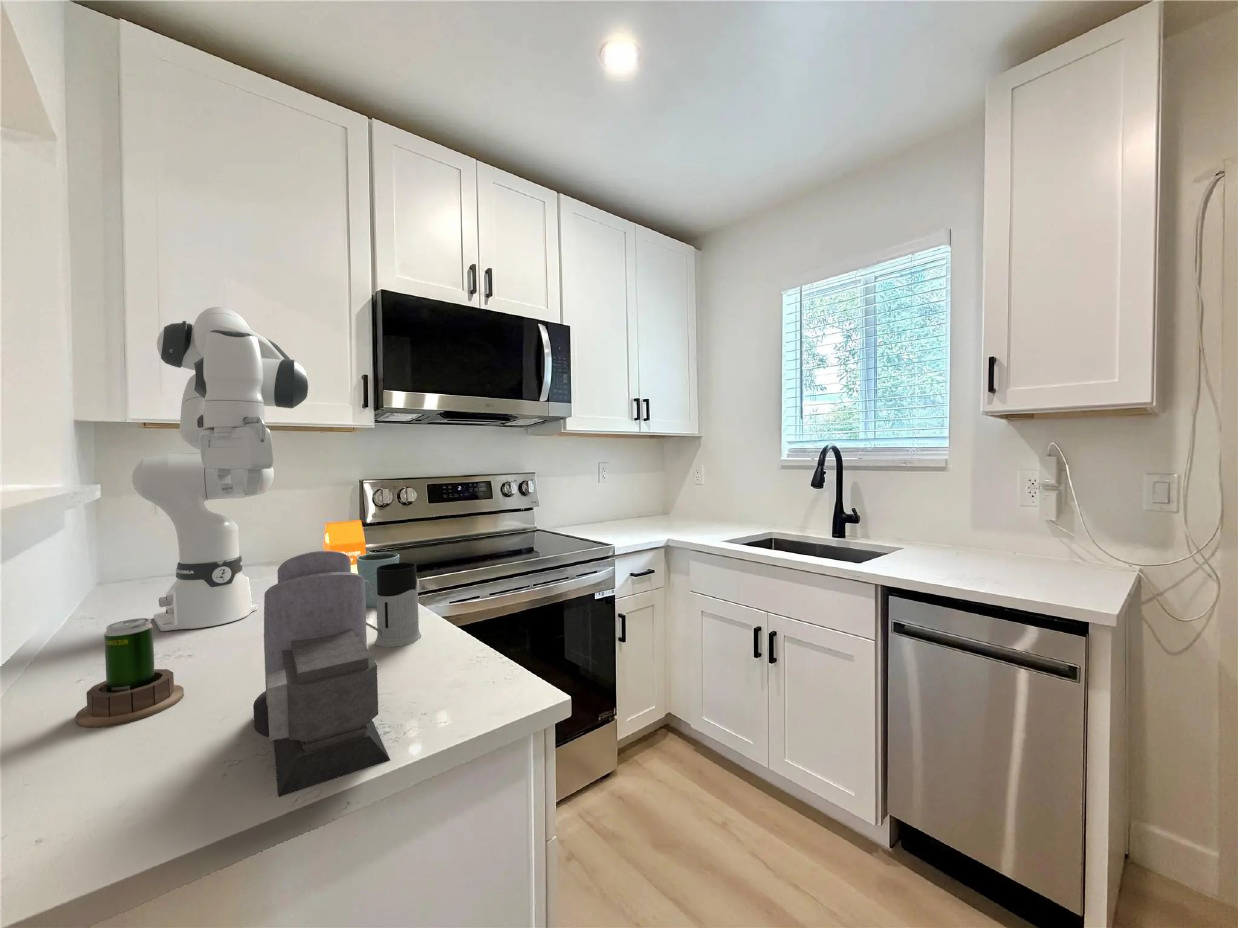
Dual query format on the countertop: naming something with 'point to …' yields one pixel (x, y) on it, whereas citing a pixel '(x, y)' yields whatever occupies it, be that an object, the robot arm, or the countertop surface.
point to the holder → (396, 605)
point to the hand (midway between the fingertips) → (238, 493)
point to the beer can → (129, 655)
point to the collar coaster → (131, 716)
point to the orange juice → (346, 540)
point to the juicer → (318, 673)
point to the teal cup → (373, 571)
